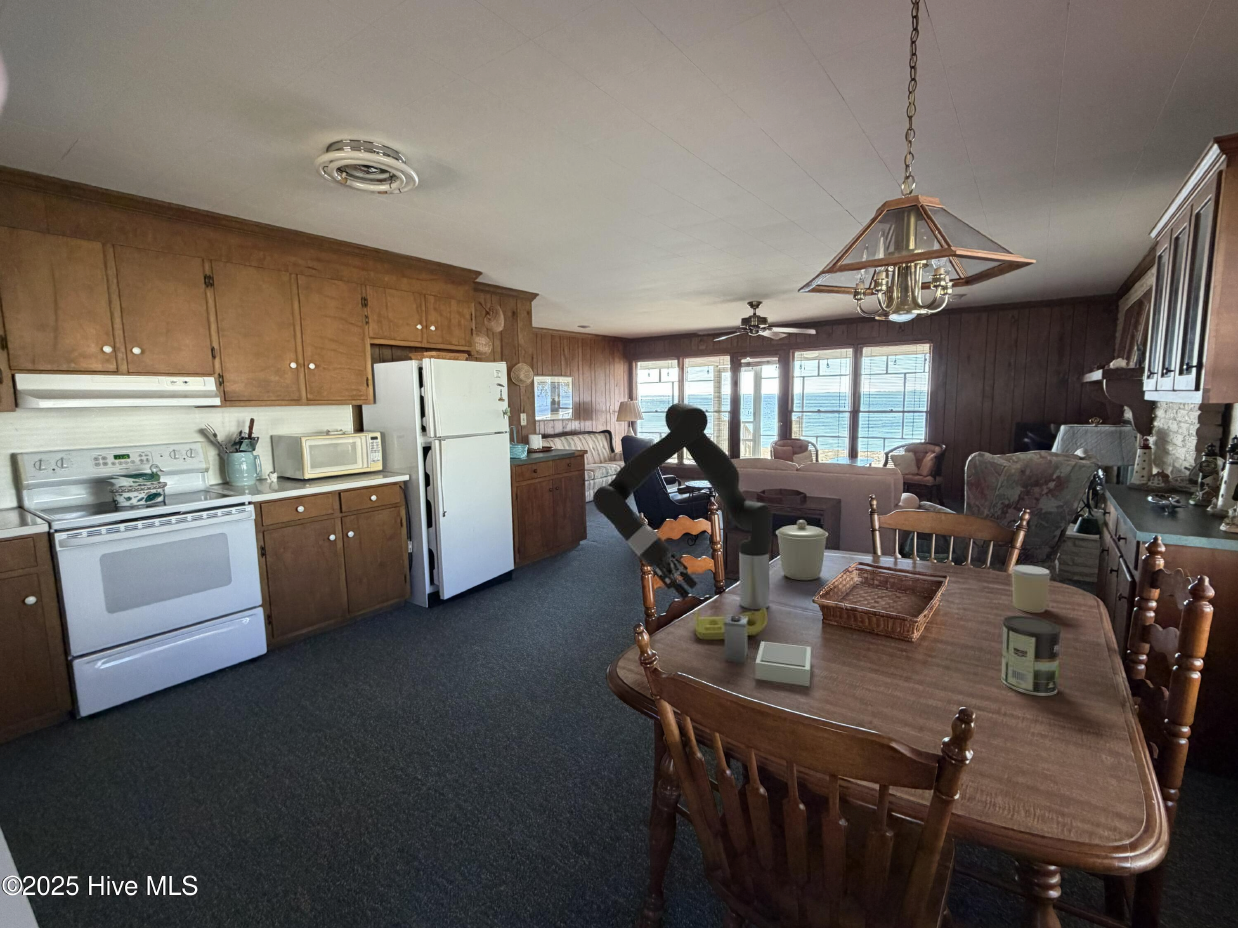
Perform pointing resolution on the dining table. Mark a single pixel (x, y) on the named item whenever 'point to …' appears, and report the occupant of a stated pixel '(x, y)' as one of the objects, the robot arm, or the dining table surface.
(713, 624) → the plastic component
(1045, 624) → the coffee can
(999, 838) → the dining table surface
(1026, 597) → the cream jar
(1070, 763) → the dining table surface
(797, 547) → the canister
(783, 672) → the stand
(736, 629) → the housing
